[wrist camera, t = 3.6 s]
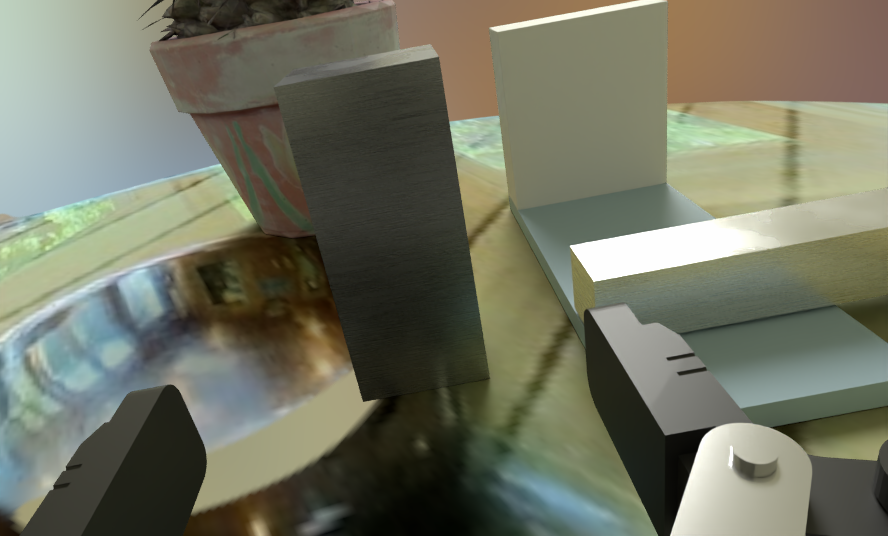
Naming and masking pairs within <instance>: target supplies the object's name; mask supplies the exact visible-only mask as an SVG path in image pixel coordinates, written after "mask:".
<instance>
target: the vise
mask: <svg viewBox="0 0 888 536" xmlns="http://www.w3.org/2000/svg"><path fill="white" fill-rule="evenodd" d="M489 34H490V42H491V50H492V59H493V67H494V75H495V83H496V92H497V100H498V109H499V117H500V126H501V134H502V143H503V151H504V159H505V168H506V176H507V184H508V193H509V201H510V209H511V211H512V212H513V214H514V216H515V218H516V220H517V222H518V224H519V226H520V227H521V229H522V231H523V233H524V235H525V237H526V239H527V241H528V242H529V244H530V246H531V248H532V250H533V252H534V254H535V255H536V257H537V259H538V261H539V263H540V265H541V267H542V269H543V270H544V272H545V274H546V276H547V278H548V280H549V282H550V284H551V285H552V287H553V289H554V291H555V293H556V295H557V297H558V299H559V300H560V302H561V304H562V306H563V308H564V310H565V312H566V314H567V315H568V317H569V319H570V321H571V323H572V325H573V327H574V329H575V330H576V332H577V334H578V336H579V338H580V340H581V342H582V343H583V345H584V347H585V332H584V323H583V322H582V320H581V318H580V316H579V314H578V313H577V311H576V309H575V307H574V294H573V280H572V267H571V253H570V246H573V245H578V244H584V243H589V242H595V241H600V240H606V239H611V238H616V237H622V236H627V235H633V234H638V233H644V232H649V231H655V230H660V229H665V228H671V227H676V226H682V225H687V224H693V223H698V222H704V221H709V220H714V219H716V218H714V217H713V216H711V215H710V214H709V213H707V212H706V211H705V210H703V209H702V208H700V207H699V206H698V205H696V204H695V203H693V202H692V201H691V200H689V199H688V198H687V197H685V196H684V195H682V194H681V193H680V192H678V191H677V190H675V189H674V188H673V187H671V186H670V185H669V184H667V183H666V173H667V46H668V42H667V41H668V1H662V0H640V1H635V2H629V3H624V4H618V5H612V6H607V7H601V8H596V9H590V10H585V11H579V12H574V13H568V14H563V15H557V16H552V17H547V18H541V19H536V20H530V21H525V22H519V23H514V24H508V25H503V26H497V27H492V28H489ZM678 334H679V335H680V336H681V337H682V338H683V339H684V341H685V342H686V343H687V344H688V345H689V347H690V348H691V349H692V350H693V351H694V354H695V356H698V358H699V359H700V360H701V361H702V362H703V364H704V365H705V366H706V369H707V371H710V372H711V373H712V375H713V376H714V377H715V378H716V379H717V381H718V382H719V383H720V384H721V385H722V387H723V388H724V389H725V390H726V392H727V393H728V394H729V395H730V396H731V398H732V399H733V400H734V401H735V402H736V404H737V405H738V406H739V407H740V409H741V410H742V411H743V412H744V413H745V415H746V416H747V417H748V418H749V419H750V421H751V422H752V423H753V424H757V425H762V426H765V427H775V426H780V425H785V424H791V423H796V422H802V421H807V420H812V419H818V418H823V417H829V416H834V415H839V414H845V413H850V412H856V411H861V410H867V409H872V408H877V407H883V406H888V343H887V342H886V341H884V340H883V339H881V338H880V337H879V336H877V335H876V334H874V333H873V332H872V331H870V330H869V329H868V328H866V327H865V326H863V325H862V324H861V323H859V322H858V321H857V320H855V319H854V318H852V317H851V316H850V315H848V314H847V313H845V312H844V311H843V310H841V309H840V308H839V307H837V306H836V305H830V306H824V307H819V308H813V309H808V310H802V311H797V312H792V313H786V314H781V315H775V316H770V317H764V318H759V319H754V320H748V321H743V322H737V323H732V324H727V325H721V326H716V327H710V328H705V329H699V330H694V331H689V332H683V333H678ZM585 349H586V347H585Z"/></svg>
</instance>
